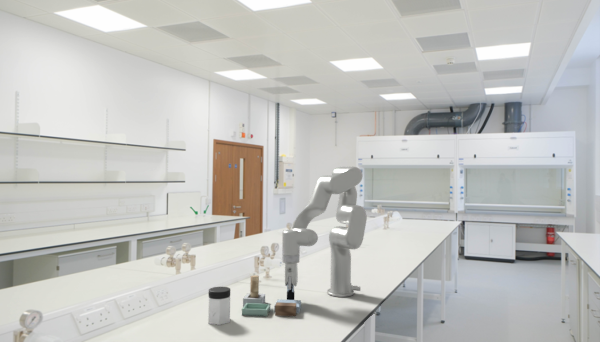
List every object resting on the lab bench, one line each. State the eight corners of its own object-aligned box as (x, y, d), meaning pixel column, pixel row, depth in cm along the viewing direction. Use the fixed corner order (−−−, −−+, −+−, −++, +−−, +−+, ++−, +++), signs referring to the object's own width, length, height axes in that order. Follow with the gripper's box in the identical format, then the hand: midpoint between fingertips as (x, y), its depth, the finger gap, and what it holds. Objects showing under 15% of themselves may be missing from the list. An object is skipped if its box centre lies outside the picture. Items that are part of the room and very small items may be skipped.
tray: (270, 310, 169) (270, 303, 169) (266, 316, 161) (267, 310, 161) (246, 309, 170) (246, 302, 170) (241, 315, 162) (241, 309, 162)
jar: (202, 323, 153) (203, 290, 153) (213, 316, 161) (214, 285, 161) (224, 326, 150) (225, 293, 150) (234, 319, 158) (235, 287, 158)
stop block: (296, 313, 166) (296, 303, 166) (295, 316, 162) (295, 306, 162) (276, 312, 166) (276, 302, 167) (275, 315, 163) (275, 305, 163)
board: (300, 307, 175) (300, 300, 175) (298, 314, 166) (299, 306, 166) (277, 306, 176) (277, 299, 176) (274, 313, 167) (274, 305, 167)
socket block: (265, 302, 180) (265, 294, 180) (261, 307, 172) (261, 299, 172) (247, 301, 181) (247, 293, 181) (242, 306, 173) (243, 298, 173)
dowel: (259, 303, 178) (259, 275, 178) (257, 305, 175) (257, 277, 175) (251, 303, 178) (251, 275, 179) (249, 305, 175) (249, 277, 175)
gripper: (298, 262, 172) (297, 306, 172) (300, 255, 187) (300, 296, 187) (280, 261, 173) (280, 305, 172) (284, 255, 188) (283, 295, 187)
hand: (290, 300), depth 180 cm, fingers closed
